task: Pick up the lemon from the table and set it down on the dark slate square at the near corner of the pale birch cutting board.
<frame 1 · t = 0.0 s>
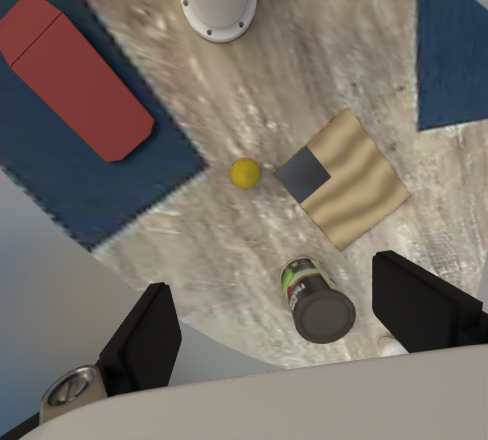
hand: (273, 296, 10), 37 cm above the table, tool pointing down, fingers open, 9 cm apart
red sloped ramp: (88, 89, 41), on the table
white rounded piece: (384, 341, 57), on the table
lemon: (244, 172, 46), on the table
board: (340, 184, 47), on the table
coffee can: (302, 276, 52), on the table
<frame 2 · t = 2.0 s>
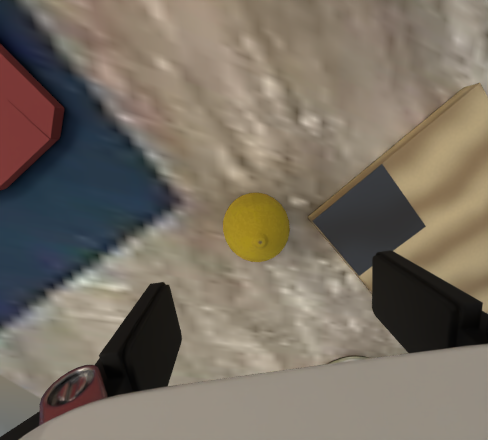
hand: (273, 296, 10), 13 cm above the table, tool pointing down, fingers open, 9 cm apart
lemon: (252, 214, 23), on the table
board: (435, 235, 24), on the table
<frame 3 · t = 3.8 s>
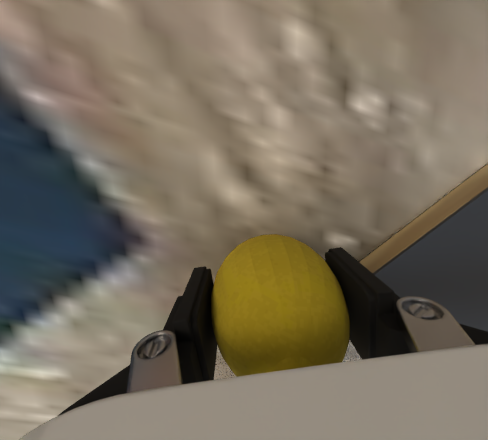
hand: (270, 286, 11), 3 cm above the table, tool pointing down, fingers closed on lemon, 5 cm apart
lemon: (263, 259, 14), on the table, touching gripper
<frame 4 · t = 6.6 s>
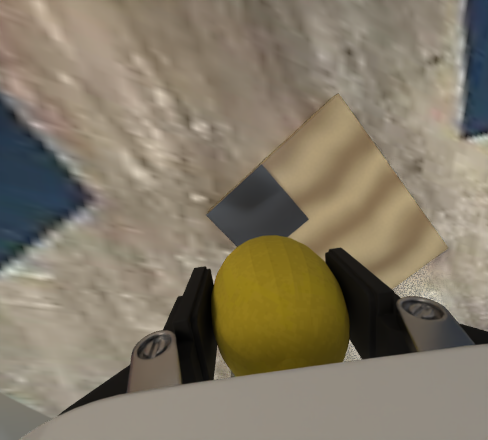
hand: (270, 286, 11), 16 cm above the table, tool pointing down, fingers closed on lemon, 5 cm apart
lemon: (263, 260, 14), point 13 cm above the table, touching gripper
board: (326, 228, 27), on the table
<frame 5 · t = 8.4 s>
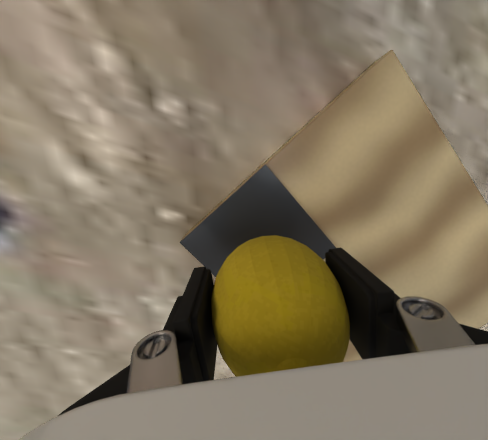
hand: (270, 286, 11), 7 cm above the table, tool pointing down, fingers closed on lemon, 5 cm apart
lemon: (263, 260, 14), point 4 cm above the table, touching gripper
board: (359, 258, 19), on the table
when the fingers open (5 cm above the table, at t = 9.5 s): lemon stays where it is, resting on board.
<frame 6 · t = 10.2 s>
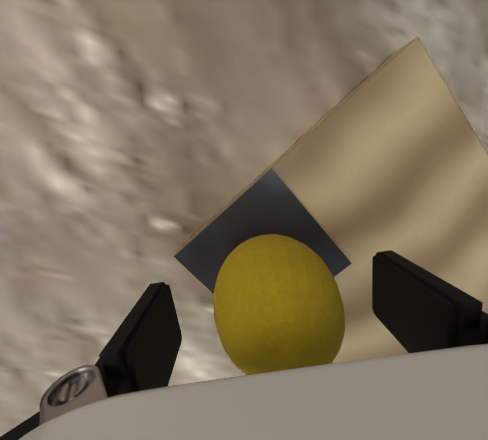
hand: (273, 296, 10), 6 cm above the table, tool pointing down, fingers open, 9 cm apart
lemon: (263, 259, 15), point 2 cm above the table, touching board
board: (375, 272, 17), on the table
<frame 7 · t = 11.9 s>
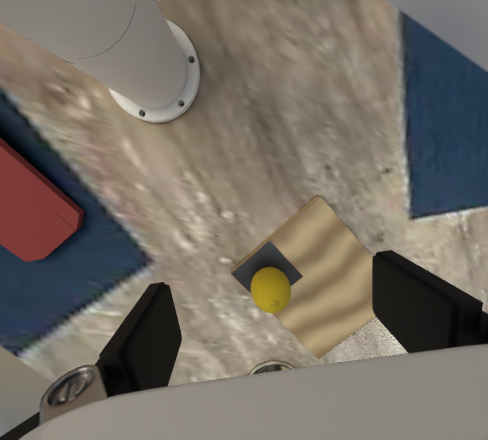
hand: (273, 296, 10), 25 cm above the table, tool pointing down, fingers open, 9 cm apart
red sloped ramp: (2, 177, 34), on the table
lemon: (267, 274, 36), point 2 cm above the table, touching board
board: (316, 280, 38), on the table
coffee can: (273, 382, 43), on the table
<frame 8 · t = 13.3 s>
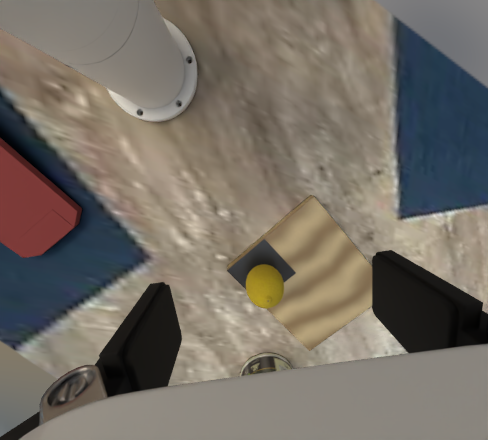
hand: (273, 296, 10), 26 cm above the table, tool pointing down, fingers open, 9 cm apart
lemon: (261, 271, 37), point 2 cm above the table, touching board
board: (308, 276, 39), on the table
coffee can: (266, 373, 45), on the table
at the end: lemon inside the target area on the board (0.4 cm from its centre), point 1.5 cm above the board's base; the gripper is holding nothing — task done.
